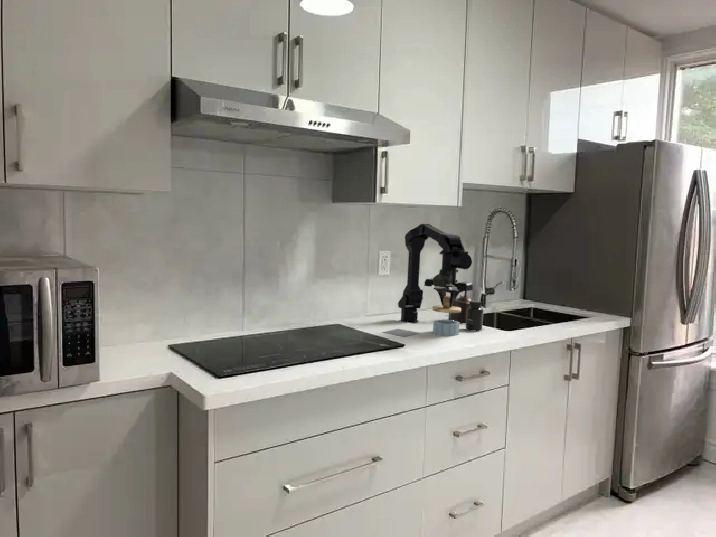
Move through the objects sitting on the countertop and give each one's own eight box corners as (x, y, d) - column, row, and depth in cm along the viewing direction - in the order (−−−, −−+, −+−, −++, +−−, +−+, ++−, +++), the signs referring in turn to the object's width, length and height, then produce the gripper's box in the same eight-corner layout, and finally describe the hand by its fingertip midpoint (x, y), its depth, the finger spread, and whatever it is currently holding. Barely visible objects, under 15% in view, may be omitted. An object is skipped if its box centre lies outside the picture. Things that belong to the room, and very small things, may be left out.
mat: (381, 333, 213) (381, 332, 213) (397, 330, 221) (397, 328, 221) (404, 338, 206) (405, 336, 206) (420, 334, 214) (420, 333, 214)
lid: (426, 310, 215) (427, 296, 214) (441, 307, 224) (442, 293, 223) (452, 314, 208) (452, 299, 207) (466, 311, 217) (467, 297, 216)
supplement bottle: (465, 330, 226) (466, 301, 225) (465, 327, 233) (467, 299, 232) (482, 332, 225) (483, 303, 224) (482, 328, 231) (484, 300, 230)
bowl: (428, 334, 216) (428, 321, 215) (441, 330, 224) (441, 318, 223) (450, 338, 210) (451, 325, 209) (463, 334, 217) (463, 322, 217)
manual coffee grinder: (464, 318, 256) (466, 280, 255) (480, 322, 246) (482, 282, 245) (437, 320, 249) (439, 280, 247) (453, 324, 239) (455, 283, 237)
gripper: (417, 265, 214) (415, 305, 215) (460, 270, 202) (458, 311, 204) (432, 264, 223) (430, 302, 224) (474, 268, 211) (472, 308, 212)
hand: (447, 306), depth 216 cm, fingers closed on lid, 3 cm apart
